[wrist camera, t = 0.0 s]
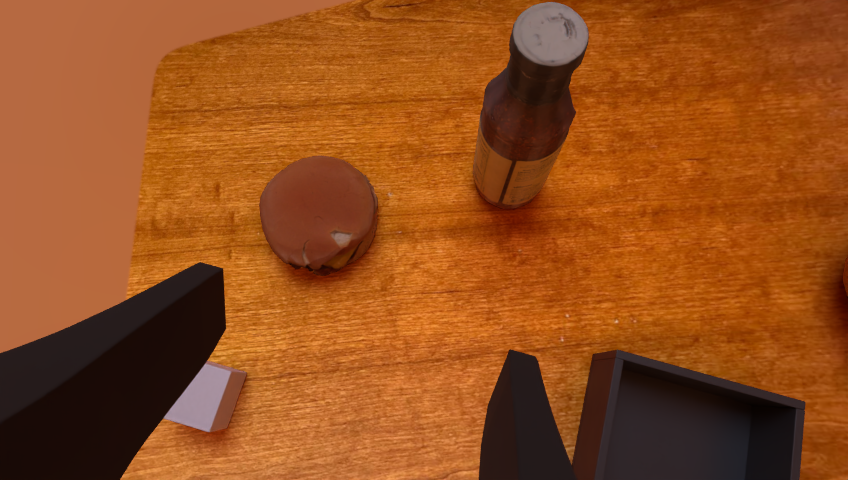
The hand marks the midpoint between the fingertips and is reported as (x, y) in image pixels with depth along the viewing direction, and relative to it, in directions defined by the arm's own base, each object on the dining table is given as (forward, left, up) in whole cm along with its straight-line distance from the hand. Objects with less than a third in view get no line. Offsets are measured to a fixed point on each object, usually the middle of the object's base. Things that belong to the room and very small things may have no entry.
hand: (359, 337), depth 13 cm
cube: (-6, +14, -30) cm, 34 cm away
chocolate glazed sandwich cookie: (+10, +10, -30) cm, 34 cm away
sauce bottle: (+18, -4, -30) cm, 36 cm away
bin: (-1, -21, -30) cm, 37 cm away
